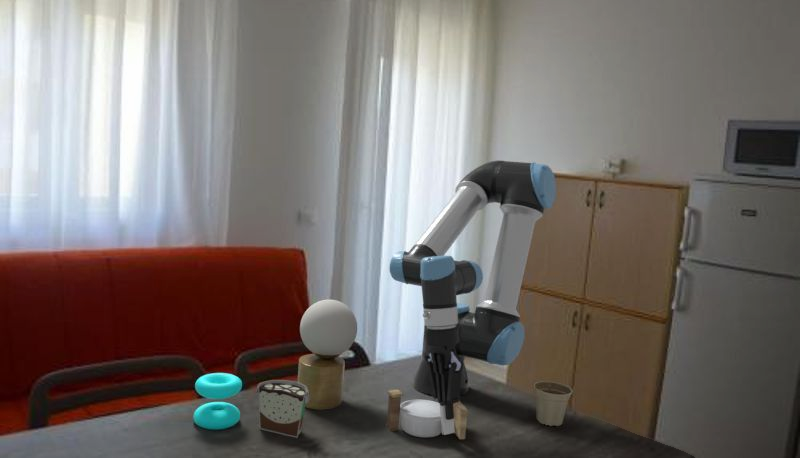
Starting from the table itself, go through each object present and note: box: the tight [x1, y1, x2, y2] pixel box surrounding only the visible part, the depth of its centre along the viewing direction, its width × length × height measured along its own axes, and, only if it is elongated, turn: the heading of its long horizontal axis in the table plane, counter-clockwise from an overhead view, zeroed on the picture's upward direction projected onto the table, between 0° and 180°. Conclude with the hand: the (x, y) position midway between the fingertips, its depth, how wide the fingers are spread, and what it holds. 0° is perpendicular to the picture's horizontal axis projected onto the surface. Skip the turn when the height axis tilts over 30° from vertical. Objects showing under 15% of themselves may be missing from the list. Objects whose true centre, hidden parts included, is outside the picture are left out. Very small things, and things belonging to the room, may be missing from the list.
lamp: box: [297, 299, 358, 410], centre depth 165 cm, size 15×14×25 cm
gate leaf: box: [453, 400, 469, 440], centre depth 152 cm, size 10×1×7 cm, turn 15°
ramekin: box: [399, 399, 442, 438], centre depth 152 cm, size 11×11×5 cm
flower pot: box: [532, 380, 574, 427], centre depth 163 cm, size 9×9×9 cm
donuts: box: [193, 372, 243, 430], centre depth 147 cm, size 10×10×10 cm
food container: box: [255, 379, 309, 439], centre depth 146 cm, size 12×6×10 cm, turn 71°
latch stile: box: [385, 389, 404, 432], centre depth 151 cm, size 3×3×9 cm
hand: (448, 433), depth 146 cm, fingers closed
